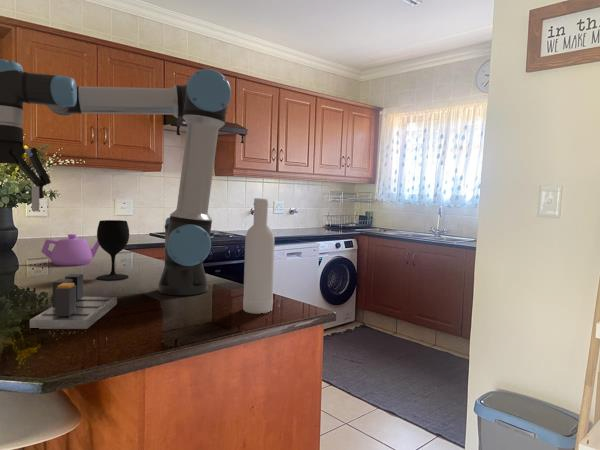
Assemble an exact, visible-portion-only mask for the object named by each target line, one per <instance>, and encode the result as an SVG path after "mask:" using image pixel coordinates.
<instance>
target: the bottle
mask: <svg viewBox="0 0 600 450" xmlns="http://www.w3.org/2000/svg"><path fill="white" fill-rule="evenodd" d="M268 208H269V200H268V198H262V197H261V198H257V197H256V198H254V199H253V224H252V226H250V227H249V228H248V229H247V232H246V234H245V237H244V239H245V240H244V268H243V269H244V271H243V273H244V274H243V298H242V299H243V300H242V304H243V306H242V307H243V308H242V309H243V311H244V312H245V313H249V314H254V315H255V314H257V315H258V314H260V315H262V314H261V313H263V314H268V312H269V313H271V312H272V311H273V304H274V298H273V297H274V296H273V295H274V272H275V271H274V264H275V262H274V261H275V239H276V238H275V236H274V235H275V234H274V231H273V230H272V229H271V227H270V226H269V225H268V213H269V212H268ZM270 311H271V312H270Z"/></svg>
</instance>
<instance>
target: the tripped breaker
mask: <svg viewBox="0 0 600 450" xmlns="http://www.w3.org/2000/svg"><path fill="white" fill-rule="evenodd" d="M75 312H76V285H74V283H62V284H60V285H58V286H57V288H56V289H55V316H70V315H72V314H73V313H75Z"/></svg>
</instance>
